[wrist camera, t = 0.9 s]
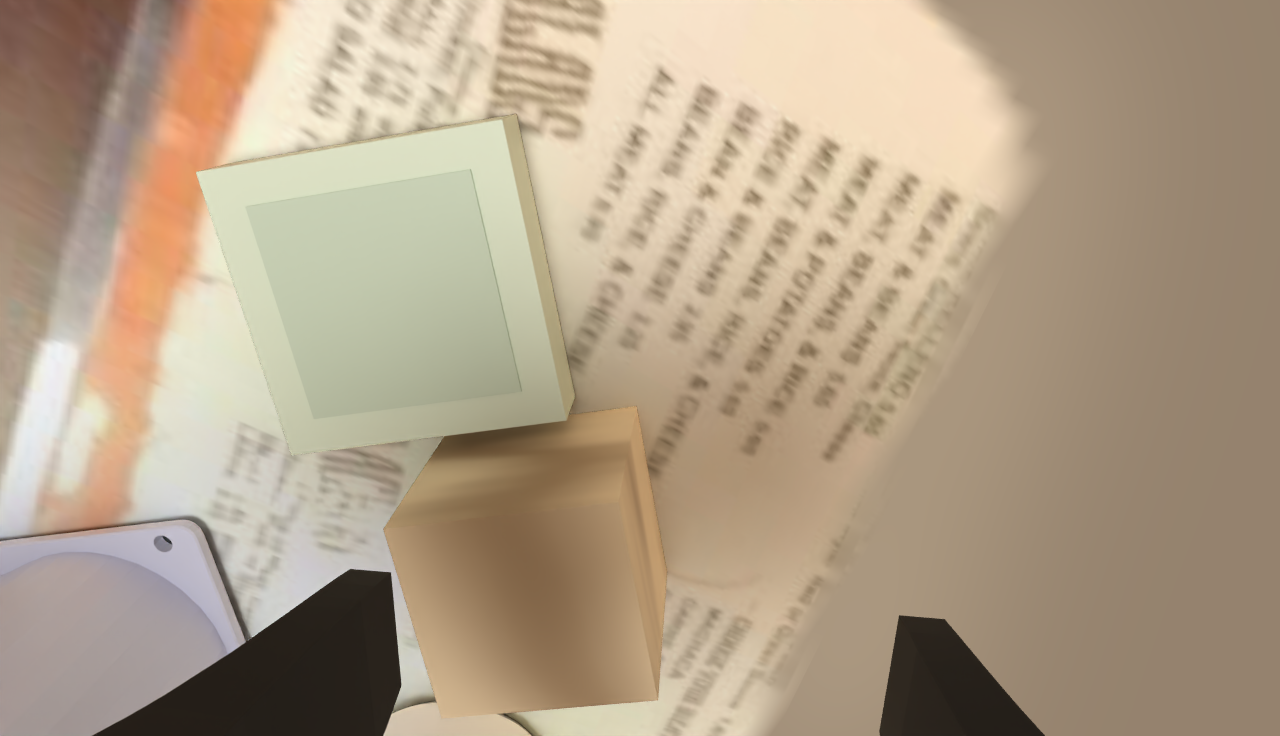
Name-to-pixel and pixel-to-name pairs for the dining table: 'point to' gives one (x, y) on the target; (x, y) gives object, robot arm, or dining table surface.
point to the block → (535, 567)
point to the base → (395, 286)
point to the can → (449, 724)
